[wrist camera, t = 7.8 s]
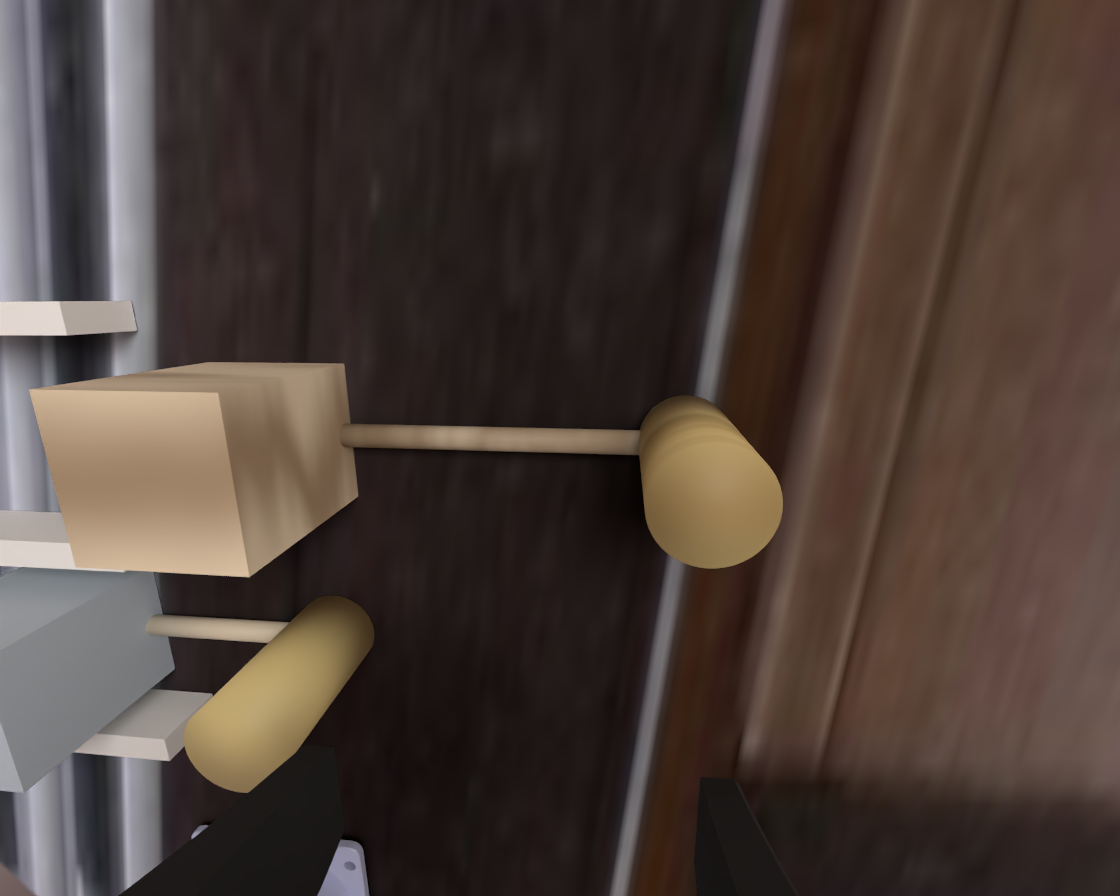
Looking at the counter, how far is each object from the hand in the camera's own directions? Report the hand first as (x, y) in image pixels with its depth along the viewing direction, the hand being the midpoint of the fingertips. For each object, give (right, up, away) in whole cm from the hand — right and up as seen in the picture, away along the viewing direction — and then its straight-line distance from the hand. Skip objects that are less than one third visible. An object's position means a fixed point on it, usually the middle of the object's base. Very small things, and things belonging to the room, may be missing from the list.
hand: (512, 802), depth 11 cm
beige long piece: (-2, +7, +8) cm, 11 cm away
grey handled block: (-13, 0, +11) cm, 18 cm away
